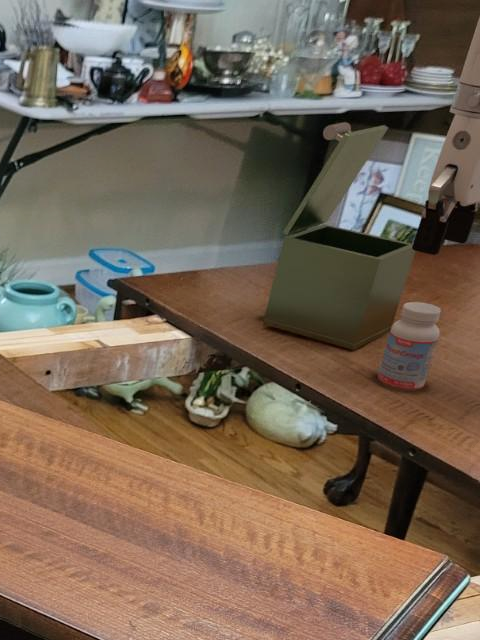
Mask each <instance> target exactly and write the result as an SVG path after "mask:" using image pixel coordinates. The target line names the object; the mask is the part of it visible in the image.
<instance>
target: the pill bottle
mask: <svg viewBox="0 0 480 640" xmlns="http://www.w3.org/2000/svg"><path fill="white" fill-rule="evenodd" d="M441 313H442V309H441V308H440V307H439V306H437V305H434V304H431V303H427V302H421V301H420V302H419V301H411V302H406V303H404V304H403V305H402V309H401V311H400V317H401V319H398V320H396V321H395V322H393V324H392V327H391V331H390V332H389V334H388V338H387V342H386V346H385V349H384V353H383V356H382V359H381V362H380V363H381V364H380V366H379V371H378V374H377V379H378V380H379V381H380V382H382V383H384V384H387V385H389V386H393V387H396V388H400V389H408V390H420V389H422V388H424V386H425V385H426V380H427V377H428V374H429V372H430V367H431V365H432V361H433V359H434V355H435V351H436V348H437V345H438V342H439V339H440V334H441V331H440V329H439V327H438V325H436V323H437V322H438V321H439V319H440V315H441Z"/></svg>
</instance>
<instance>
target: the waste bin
mask: <svg viewBox="0 0 480 640" xmlns="http://www.w3.org/2000/svg"><path fill="white" fill-rule="evenodd" d="M412 246H413V243H410V242H406V241H400V240H398V239H392V238H388V237H384V236H380V235H375V234H371V233H365V232H361V231H358V230H357V231H356V230H352V229H348V228H347V229H346V228H343V227H338V226H334V225H330V224H326V223H323V224H320V225H317V226H314V227H311V228H308V229H305V230H301V231H298V232H295V233H292V234H289V235H285V236H284V237H283V240H282V244H281V248H280V252H279V256H278V260H277V264H276V268H275V272H274V276H273V280H272V284H271V287H270V293H269V297H268V301H267V304H266V309H265V313H264V317H263V320H262V325H264V326H268V327H271V328H275V329H279V330H282V331H286V332H289V333H292V334H296V335H300V336H302V337H306V338H309V339H312V340H313V339H314V340H317V341H320V342H323V343H327V344H330V345H334V346H338V347H341V348H345V349H349V350H352V351H354V350H357V349H358V348H360V347H363V346H365V345H367V344H369V343H370V342H372V341H374V340H377V339H379V338H380V337H382V336H384V335H385V334H388V333H390V331H391V328H392V326H393V324H394V321H395V318H396V315H397V311H398V308H399V305H400V302H401V299H402V296H403V292H404V289H405V286H406V282H407V280H408V277H409V272H410V269H411V266H412V263H413V260H414V257H415V254H416V251H415V250H413V249H412Z"/></svg>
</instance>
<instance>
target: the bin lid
mask: <svg viewBox="0 0 480 640" xmlns="http://www.w3.org/2000/svg"><path fill="white" fill-rule="evenodd" d="M388 130H389V127H388V126H387V125H385V124H384V125H378V126H374V127H370V128H364V129H359V130H355V131H352V126H351V124H350V123H349V122H346V121H344V122H340V123H335V124H329V125H327V126H326V127H324V129H323V131H322V135H323V138H324V139H325V140H326V141H333V140H337V141H338V144H337V145H336V146H335V148H334V150H333V151H332V153H331V155H330V157H329V158H328V159H327V161H326V163H325V164H324V166H323V167H322V168H321V171H320V172H319V173H318V175H317V177H316V179H315V180H314V182H313V183H312V185H311V187H310V188H309V190H308V191H307V193H306V195H304V198H303V200H302V201H301V203H300V204H299V206H298V208H297V209H296V211H295V212H294V214H293V215H292V217H291V219H290V220H289V222H288V223H287V224H286V227H285V228H284V229H283V232H282V233H283V234H285V236H290V235H293V234H296V233H299V232H302V231H305V230H308V229H311V228H314V227H317V226H320V225H323V224H326V223H328V221H330V218H331V217H332V215H333V214H334V212H335V211H336V209H337V208H338V207H339V205H340V203H341V202H342V200H343V198H344V197H345V195H346V194H347V193H348V191H349V189H350V187H351V186H352V185H353V183H354V181H355V180H356V179H357V177H358V175H359V174H360V173H361V171H362V169H363V167H365V165H366V163H367V162H368V160H369V158H370V157H371V155H372V154H373V152H374V151H375V150H376V148H377V146H378V144H380V141H381V140H382V139H383V137H384V135H385V134H386V132H387V131H388Z"/></svg>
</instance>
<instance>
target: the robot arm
mask: <svg viewBox="0 0 480 640" xmlns="http://www.w3.org/2000/svg"><path fill="white" fill-rule="evenodd" d="M462 68H463V69H462V71H461V74H460V77H459V81H458V83H457V87H456V89H455V94H454V97H453V99H452V103H451V106H450V108H449V112H450V113H451V114H453V115H454V117H453V119H452V121H451V124H450V126H449V129H448V131H447V134H446V137H445V139H444V142H443V145H442V146H441V150H440V153H439V155H438V158H437V161H436V164H435V167H434V170H433V173H432V175H431V176H432V177H431V179H430V183H429V187H428V192H427V194H428V196H427V199H426V200H425V202H424V206H425V207H424V209H423V210H422V213H421V218H420V220H419V224H418V227H417V230H416V233H415V237H414V240H413V243H412V244H413V246H412V249H413V250H415V252H419V253H422V254H423V253H424V254H427V255H430V256H431V255H432V256H436V255H438V254H439V253H440V250H441V248H442V244H443V241H444V240H445V241H449V242H453V243H458V244H461V245H463V244H466V243H467V242H468V241H469V237H470V233H471V231H472V228H473V225H474V223H475V219H476V217H477V214H478V212H477V211H478V210H479V208H480V16H479V18H478V21H477V24H476V27H475V30H474V33H473V37H472V39H471V43H470V46H469V49H468V52H467V55H466V58H465V62H464V64H463V67H462ZM444 206H445V207H444Z"/></svg>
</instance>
